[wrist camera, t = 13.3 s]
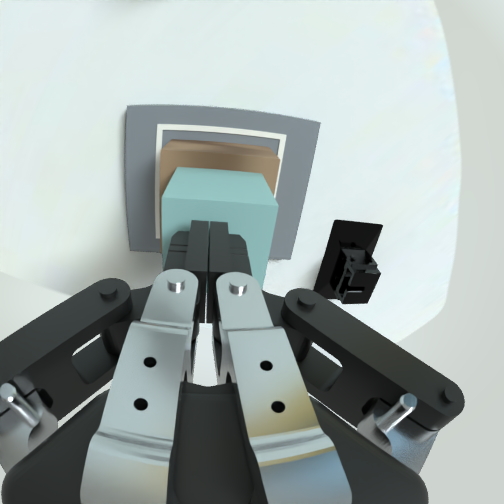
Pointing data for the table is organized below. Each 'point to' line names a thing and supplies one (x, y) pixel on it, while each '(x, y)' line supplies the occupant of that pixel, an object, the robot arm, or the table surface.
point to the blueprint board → (219, 130)
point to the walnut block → (215, 161)
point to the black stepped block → (349, 263)
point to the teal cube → (222, 209)
